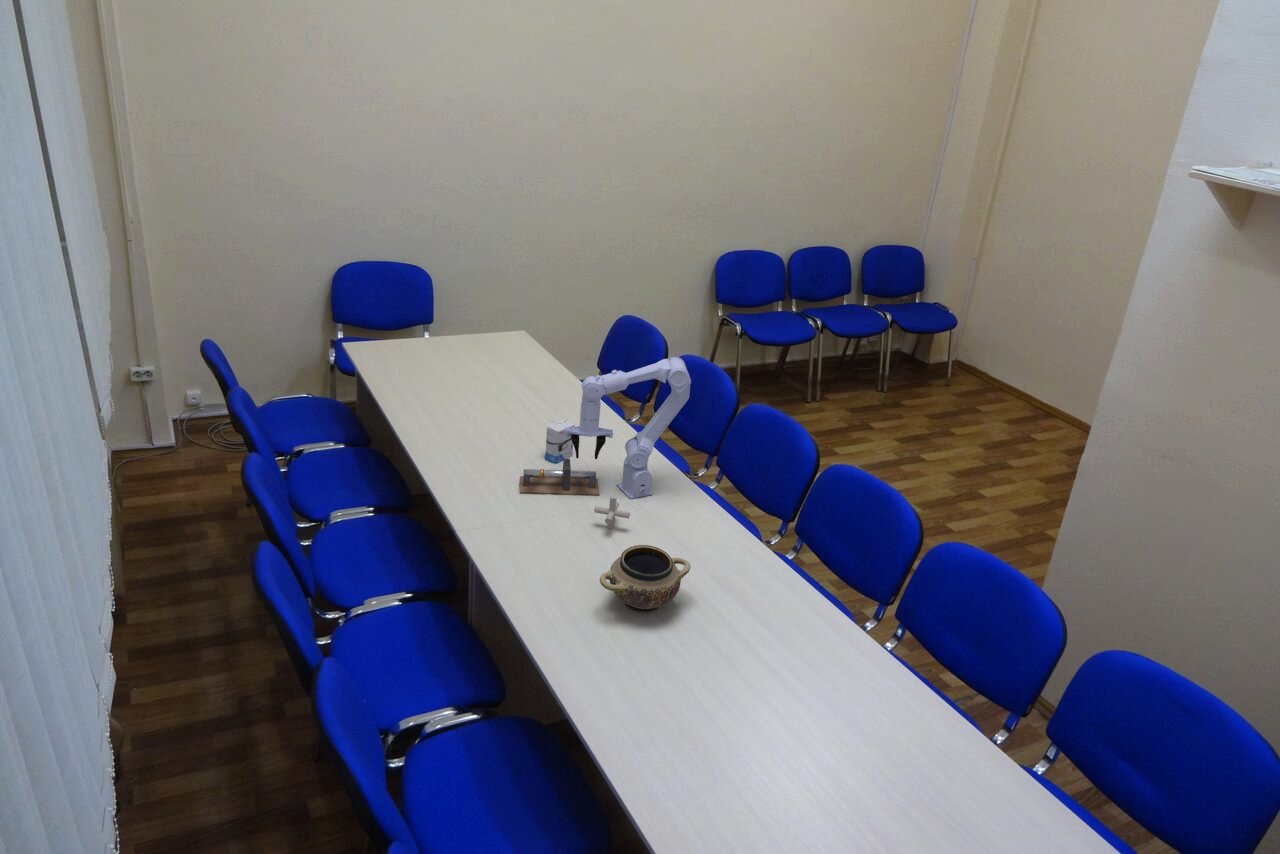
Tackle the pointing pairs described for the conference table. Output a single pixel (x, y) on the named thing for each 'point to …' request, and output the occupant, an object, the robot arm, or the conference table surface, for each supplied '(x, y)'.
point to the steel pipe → (558, 475)
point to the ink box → (558, 442)
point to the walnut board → (558, 487)
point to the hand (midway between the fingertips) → (586, 457)
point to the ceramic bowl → (645, 578)
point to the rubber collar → (566, 474)
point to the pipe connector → (611, 512)
